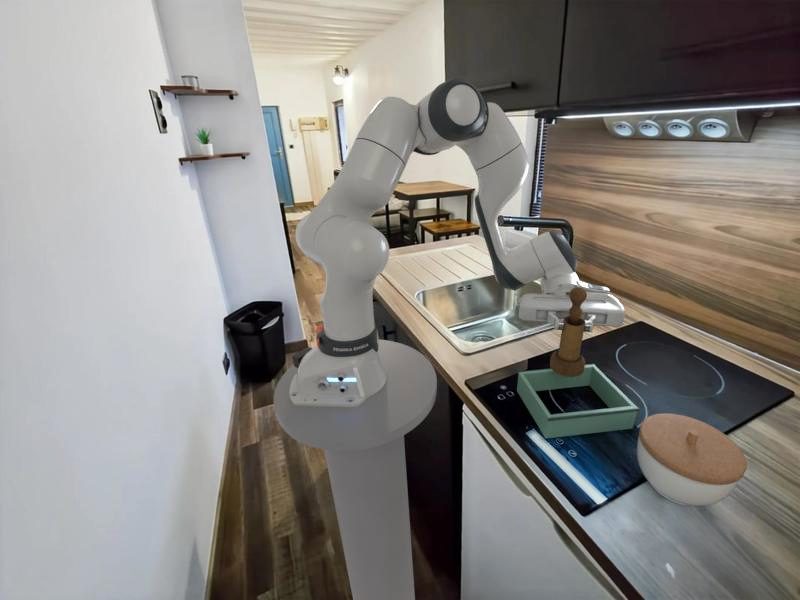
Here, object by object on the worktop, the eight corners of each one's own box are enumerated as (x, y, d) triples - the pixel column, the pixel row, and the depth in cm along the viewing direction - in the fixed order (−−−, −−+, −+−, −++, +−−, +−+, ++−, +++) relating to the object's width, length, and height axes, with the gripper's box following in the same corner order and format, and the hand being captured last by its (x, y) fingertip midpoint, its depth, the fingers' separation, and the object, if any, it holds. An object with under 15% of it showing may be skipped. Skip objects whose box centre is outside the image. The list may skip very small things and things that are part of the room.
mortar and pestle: (577, 381, 71) (591, 298, 64) (544, 369, 75) (554, 290, 68) (588, 365, 76) (603, 286, 68) (557, 355, 80) (567, 279, 72)
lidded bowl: (642, 441, 66) (657, 392, 61) (733, 484, 57) (758, 431, 52) (616, 485, 58) (631, 433, 54) (716, 542, 50) (744, 486, 45)
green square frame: (545, 439, 67) (548, 418, 65) (515, 390, 80) (517, 371, 78) (633, 429, 68) (639, 408, 66) (590, 382, 81) (594, 363, 79)
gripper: (517, 283, 84) (519, 309, 72) (616, 287, 79) (636, 317, 67) (515, 307, 87) (517, 337, 75) (610, 313, 81) (629, 346, 69)
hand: (574, 327), depth 71 cm, fingers closed on mortar and pestle, 4 cm apart
